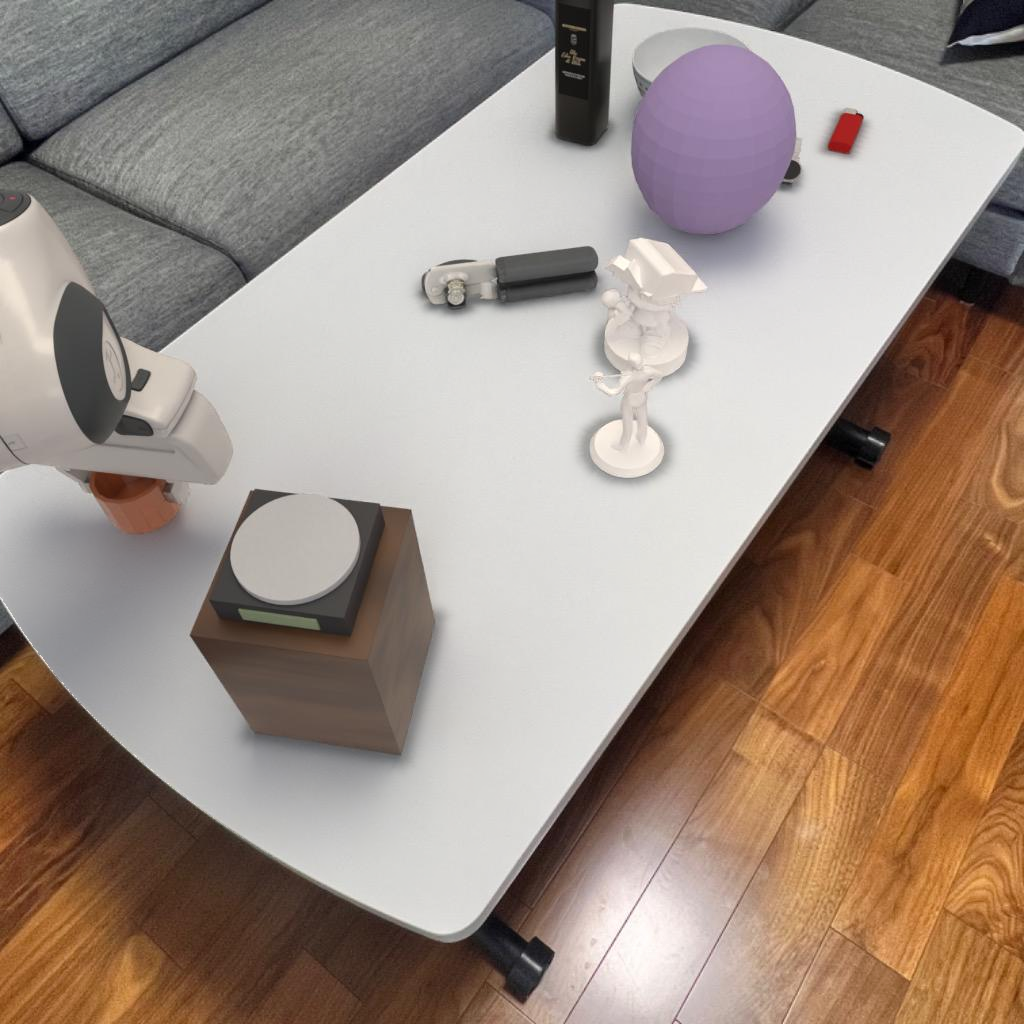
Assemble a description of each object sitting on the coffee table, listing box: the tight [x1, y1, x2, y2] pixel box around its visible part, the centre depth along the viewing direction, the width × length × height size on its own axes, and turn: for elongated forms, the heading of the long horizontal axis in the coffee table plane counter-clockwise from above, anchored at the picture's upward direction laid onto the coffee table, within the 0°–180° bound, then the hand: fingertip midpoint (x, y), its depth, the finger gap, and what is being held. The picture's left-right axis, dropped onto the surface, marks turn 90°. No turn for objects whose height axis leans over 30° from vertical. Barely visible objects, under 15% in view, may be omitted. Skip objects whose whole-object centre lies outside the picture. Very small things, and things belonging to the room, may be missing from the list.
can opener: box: [420, 245, 599, 310], centre depth 101 cm, size 19×6×5 cm, turn 95°
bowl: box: [89, 471, 182, 535], centre depth 83 cm, size 6×6×4 cm
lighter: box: [827, 107, 864, 154], centre depth 117 cm, size 3×1×8 cm
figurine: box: [588, 352, 665, 479], centre depth 84 cm, size 7×7×12 cm
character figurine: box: [600, 237, 708, 380], centre depth 92 cm, size 9×10×12 cm
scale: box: [209, 488, 385, 636], centre depth 62 cm, size 9×9×3 cm
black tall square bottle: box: [554, 0, 615, 146], centre depth 108 cm, size 6×6×30 cm
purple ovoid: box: [630, 44, 798, 235], centre depth 100 cm, size 17×17×20 cm
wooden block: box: [189, 489, 436, 756], centre depth 70 cm, size 12×12×16 cm
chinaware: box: [631, 26, 753, 98], centre depth 118 cm, size 15×15×8 cm
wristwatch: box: [782, 137, 804, 184], centre depth 111 cm, size 3×5×5 cm, turn 164°
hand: (139, 492), depth 83 cm, fingers closed on bowl, 6 cm apart
